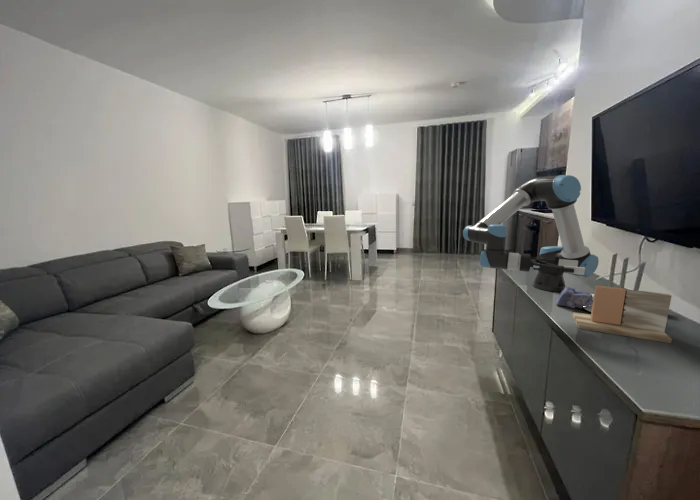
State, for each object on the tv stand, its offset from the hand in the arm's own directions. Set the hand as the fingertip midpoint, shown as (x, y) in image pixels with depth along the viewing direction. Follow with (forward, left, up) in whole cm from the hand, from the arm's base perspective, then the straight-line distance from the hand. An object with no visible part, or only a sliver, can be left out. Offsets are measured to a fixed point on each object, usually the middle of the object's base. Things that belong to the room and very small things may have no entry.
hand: (581, 267), depth 117 cm
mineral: (-21, +3, -23) cm, 31 cm away
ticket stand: (0, +14, -23) cm, 27 cm away
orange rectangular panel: (0, +10, -21) cm, 23 cm away
